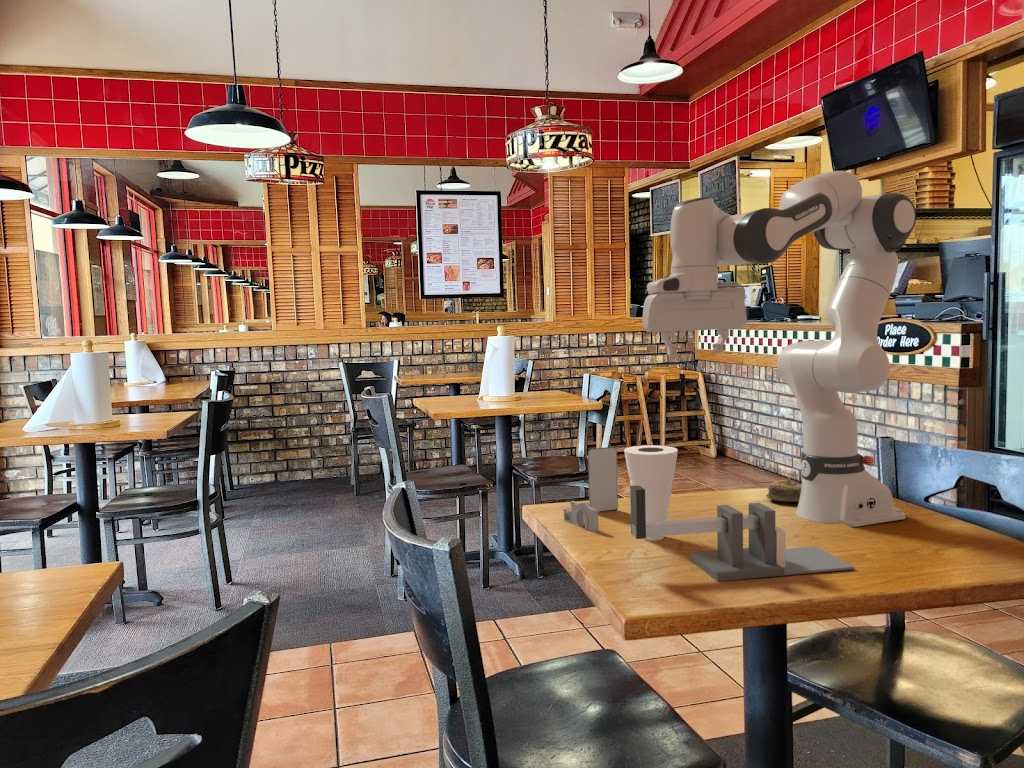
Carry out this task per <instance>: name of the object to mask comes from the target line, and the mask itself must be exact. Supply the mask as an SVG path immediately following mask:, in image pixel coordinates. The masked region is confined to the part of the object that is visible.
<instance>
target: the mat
mask: <svg viewBox="0 0 1024 768" xmlns="http://www.w3.org/2000/svg"><path fill="white" fill-rule="evenodd" d="M785 551H786V567H783V568H784V575H783V576H791V575H802V574H812V573H813V574H815V573H823V572H824V573H826V572H827V573H828V572H835V571H837V572H838V571H847V570H855V566H854V565H851V564H850V563H848V562H846V561H844V560H842V559H841V558H838V557H837V556H835V555H834V554H831V553H829V552H828V551H825V550H824V549H822V548H820V547H818V546H809V547H794V548H785Z"/></svg>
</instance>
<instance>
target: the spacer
mask: <svg viewBox="0 0 1024 768" xmlns="http://www.w3.org/2000/svg"><path fill="white" fill-rule="evenodd" d="M775 549H776V564H778V565H780V566H781V567H786V551H785V549H786V530H784V529H782V528H781V527H779V526H778V525H775Z"/></svg>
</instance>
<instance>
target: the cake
mask: <svg viewBox="0 0 1024 768" xmlns="http://www.w3.org/2000/svg"><path fill="white" fill-rule="evenodd" d="M791 480H792V479H791V477H790V476H788V477H787V478H786V480H784V479H783V480H781V479H780V480H776V481H772V482H771V483H770V484H769V485H768V487H767V489H768V492H767V494H766V495H765V497H766V498H768V499H770V500H774V501H779V502H790V503H791V502H792V503H793V502H796V503H799V499H800V493H801V487H802V485H801V484H800V485H797V484H796V482H794V481H791Z"/></svg>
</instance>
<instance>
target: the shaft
mask: <svg viewBox="0 0 1024 768" xmlns="http://www.w3.org/2000/svg"><path fill="white" fill-rule="evenodd" d="M629 489H630V490H629V492H630V494H629V495H630V496H629V497H630V534H631V535H632V536H633V537H634V538H635V539H636V540H641V539H642V540H644V538H646V537H656V536H665V537H667V536H676V535H677V536H678V535H680V536H681V535H689V534H690V535H692V534H702V533H715V532H716V533H717V532H718V531H728V518H726V517H717V516H715V517H702V518H701V517H700V518H699V517H698V518H687V519H676V520H675V519H673V520H667V521H659V522H646V511H645V489H644V488H642V487H641V486H631V485H630V486H629ZM756 528H760V516H759V515H757V514H750V515H749V514H743V530H749V529H756Z"/></svg>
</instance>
